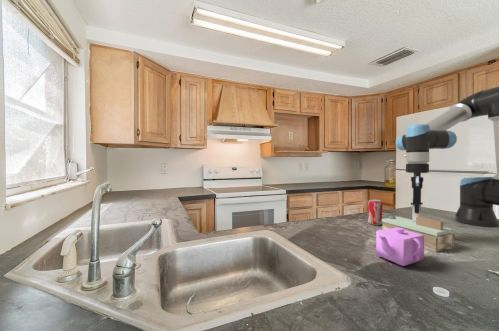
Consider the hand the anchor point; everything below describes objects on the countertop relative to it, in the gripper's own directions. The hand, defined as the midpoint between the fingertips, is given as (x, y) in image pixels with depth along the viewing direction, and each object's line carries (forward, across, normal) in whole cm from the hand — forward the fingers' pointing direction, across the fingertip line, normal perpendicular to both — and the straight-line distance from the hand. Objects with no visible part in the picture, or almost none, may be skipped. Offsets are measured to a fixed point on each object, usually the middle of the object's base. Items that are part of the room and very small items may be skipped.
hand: (416, 220), depth 89 cm
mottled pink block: (+7, +29, -6) cm, 30 cm away
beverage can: (+7, -12, -16) cm, 21 cm away
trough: (+7, +4, 0) cm, 8 cm away
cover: (+2, +4, -1) cm, 4 cm away
